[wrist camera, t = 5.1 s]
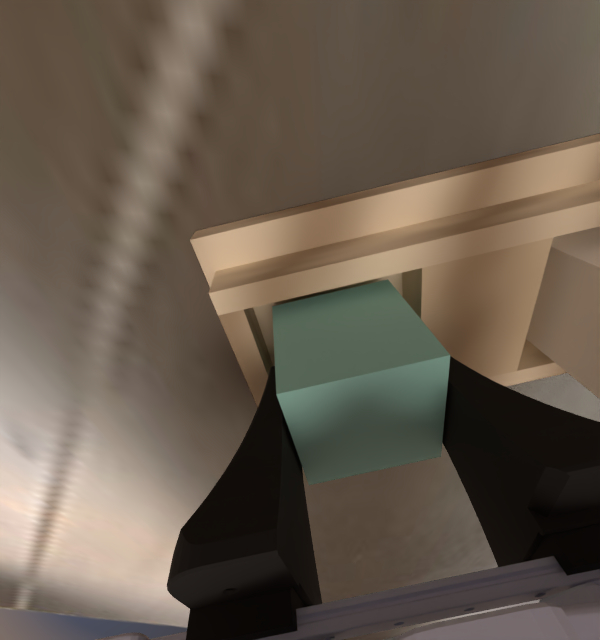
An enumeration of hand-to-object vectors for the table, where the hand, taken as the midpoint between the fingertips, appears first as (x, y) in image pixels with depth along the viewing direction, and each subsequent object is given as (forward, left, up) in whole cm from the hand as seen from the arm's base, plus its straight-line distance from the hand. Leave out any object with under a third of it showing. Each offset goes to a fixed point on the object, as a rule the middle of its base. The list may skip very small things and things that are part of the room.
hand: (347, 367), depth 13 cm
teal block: (0, 0, -2) cm, 2 cm away
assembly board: (-6, 0, -4) cm, 7 cm away
